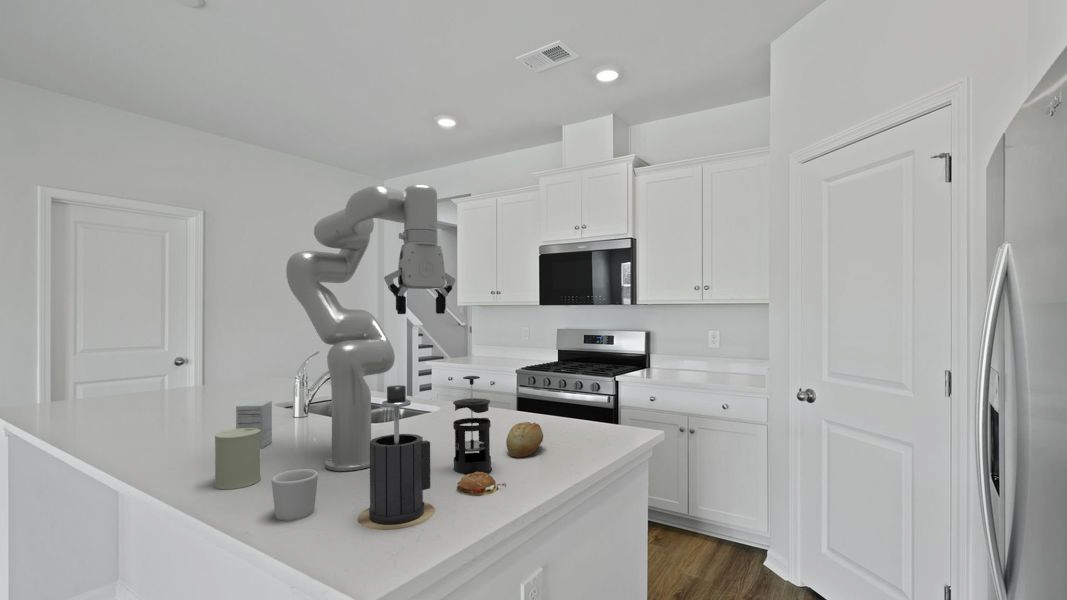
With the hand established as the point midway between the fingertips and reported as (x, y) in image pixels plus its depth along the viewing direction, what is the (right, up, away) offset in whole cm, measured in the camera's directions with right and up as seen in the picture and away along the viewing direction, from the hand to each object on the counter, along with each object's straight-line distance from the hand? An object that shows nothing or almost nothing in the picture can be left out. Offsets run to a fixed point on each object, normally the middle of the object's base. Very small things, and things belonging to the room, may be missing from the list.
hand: (421, 313), depth 116 cm
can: (-42, -39, 0) cm, 57 cm away
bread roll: (+24, -39, +23) cm, 51 cm away
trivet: (0, -38, -22) cm, 43 cm away
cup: (-19, -38, -19) cm, 47 cm away
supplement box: (-56, -40, +32) cm, 76 cm away
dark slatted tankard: (0, -37, -22) cm, 43 cm away
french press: (+11, -39, +6) cm, 41 cm away
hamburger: (+15, -39, -7) cm, 42 cm away
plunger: (0, -35, -22) cm, 41 cm away
